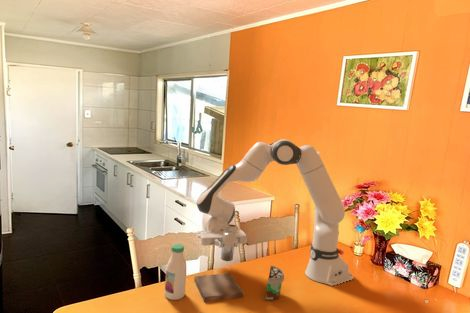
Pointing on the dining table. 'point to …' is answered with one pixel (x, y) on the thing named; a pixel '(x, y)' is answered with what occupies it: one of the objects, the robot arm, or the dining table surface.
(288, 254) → the dining table surface
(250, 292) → the dining table surface
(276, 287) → the food container
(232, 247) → the silver can
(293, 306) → the dining table surface
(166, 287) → the milk bottle
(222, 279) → the walnut board
